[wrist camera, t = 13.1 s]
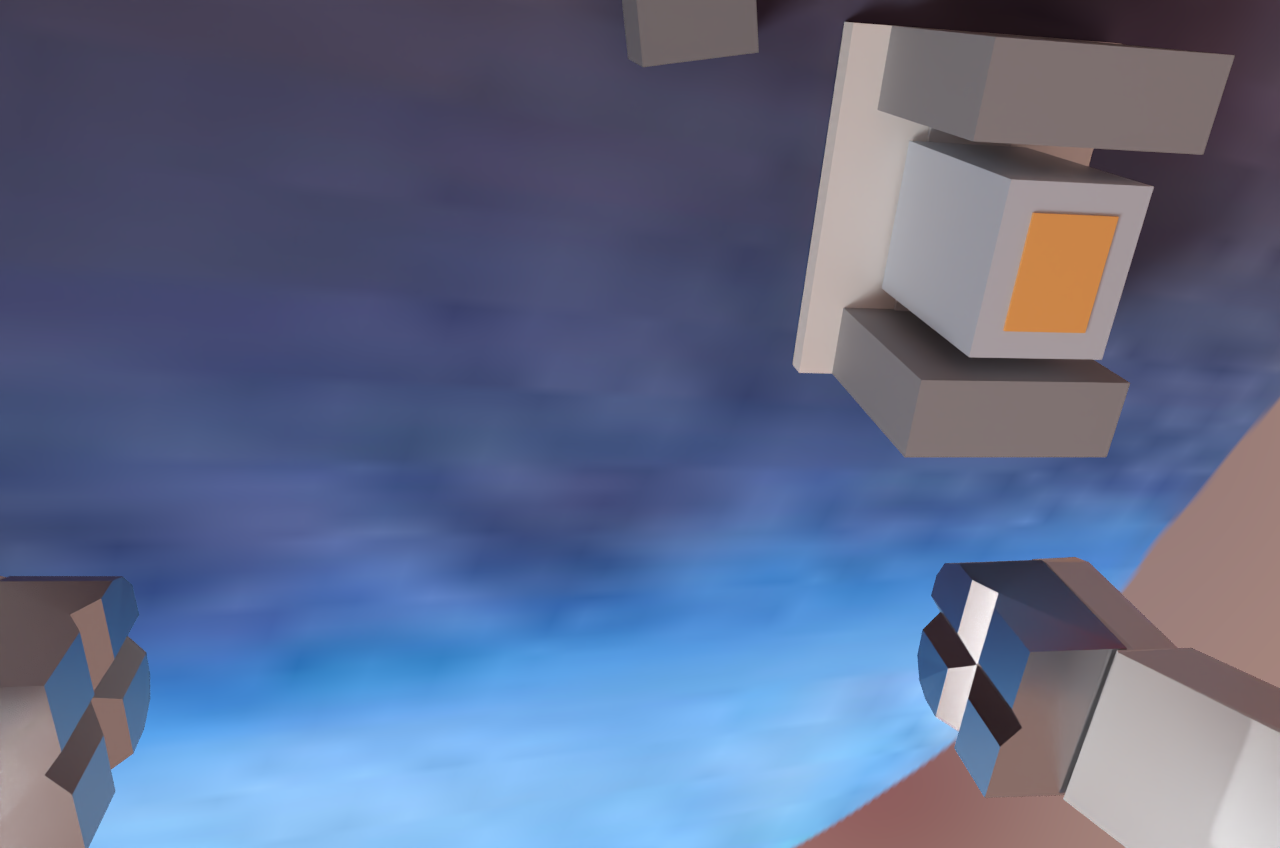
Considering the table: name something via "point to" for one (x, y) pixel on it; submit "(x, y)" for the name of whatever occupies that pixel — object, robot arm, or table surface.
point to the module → (1013, 249)
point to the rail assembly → (982, 115)
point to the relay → (688, 30)
